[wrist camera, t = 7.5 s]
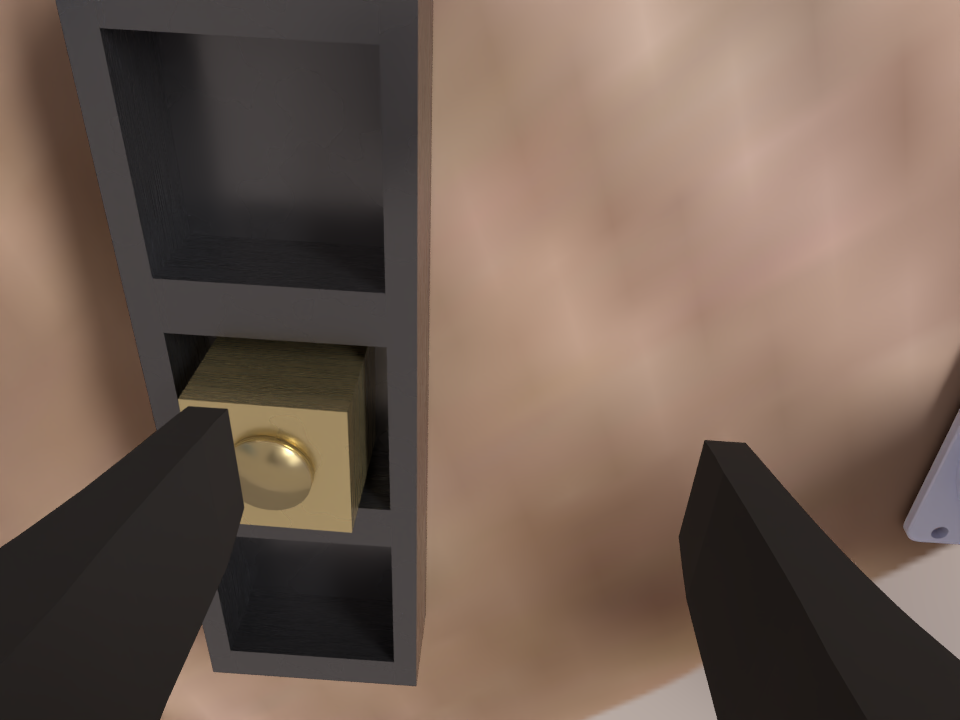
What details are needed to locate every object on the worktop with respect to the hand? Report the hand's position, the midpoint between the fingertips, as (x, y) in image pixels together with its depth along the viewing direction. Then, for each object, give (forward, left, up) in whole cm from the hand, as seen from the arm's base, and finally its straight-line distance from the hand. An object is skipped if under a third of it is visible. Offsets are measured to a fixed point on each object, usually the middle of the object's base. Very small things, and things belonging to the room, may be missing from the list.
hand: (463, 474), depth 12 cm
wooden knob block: (+5, +5, -9) cm, 12 cm away
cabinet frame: (+5, +5, -10) cm, 12 cm away
